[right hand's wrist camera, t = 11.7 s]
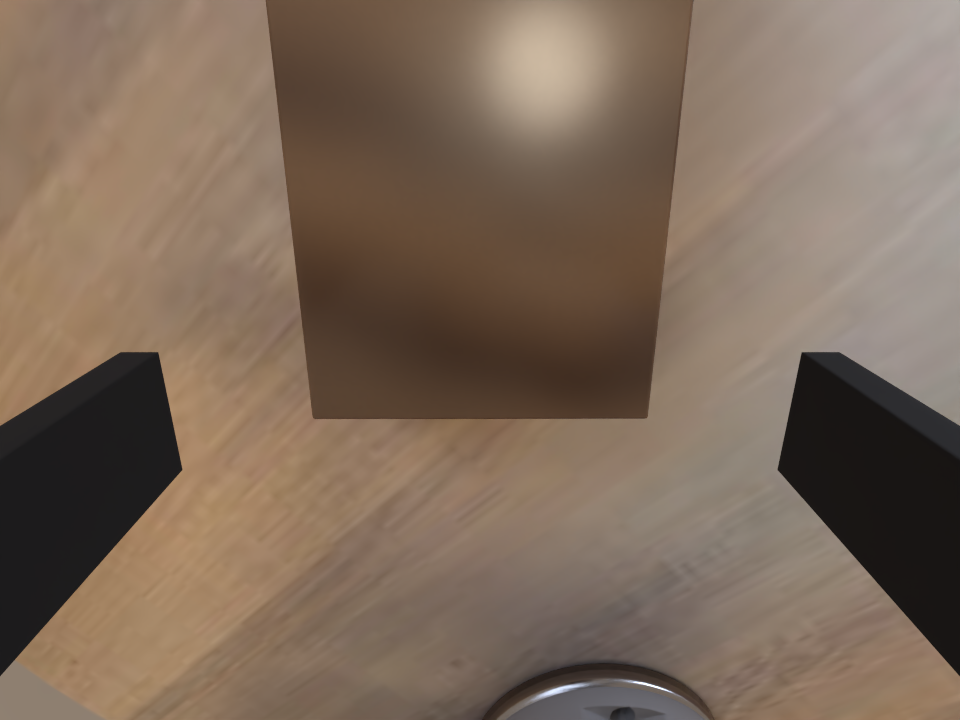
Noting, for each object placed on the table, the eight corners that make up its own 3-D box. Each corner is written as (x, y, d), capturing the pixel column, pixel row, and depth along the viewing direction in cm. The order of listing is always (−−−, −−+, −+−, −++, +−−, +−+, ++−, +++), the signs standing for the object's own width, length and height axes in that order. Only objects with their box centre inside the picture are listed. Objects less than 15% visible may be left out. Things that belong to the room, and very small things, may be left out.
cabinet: (322, -154, 21) (227, -326, 13) (636, -154, 21) (730, -327, 13) (360, 337, 27) (312, 419, 19) (599, 337, 27) (648, 419, 19)
